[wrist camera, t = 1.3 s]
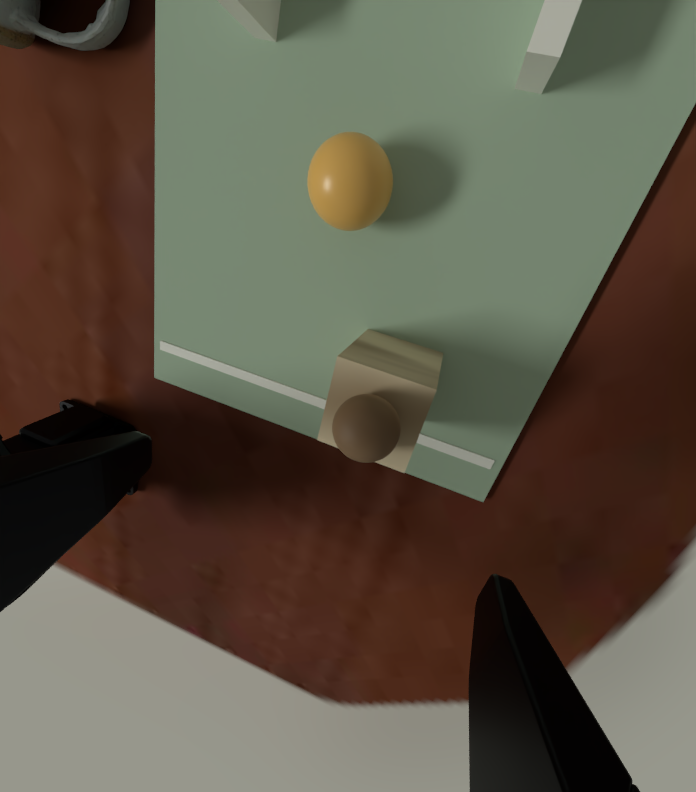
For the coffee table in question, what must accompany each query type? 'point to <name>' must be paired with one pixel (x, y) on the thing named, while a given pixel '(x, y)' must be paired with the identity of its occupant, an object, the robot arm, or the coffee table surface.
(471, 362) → the pitch mat
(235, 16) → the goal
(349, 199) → the ball
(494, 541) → the coffee table surface
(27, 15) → the ceramic mug
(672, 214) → the coffee table surface
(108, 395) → the coffee table surface
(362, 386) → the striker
